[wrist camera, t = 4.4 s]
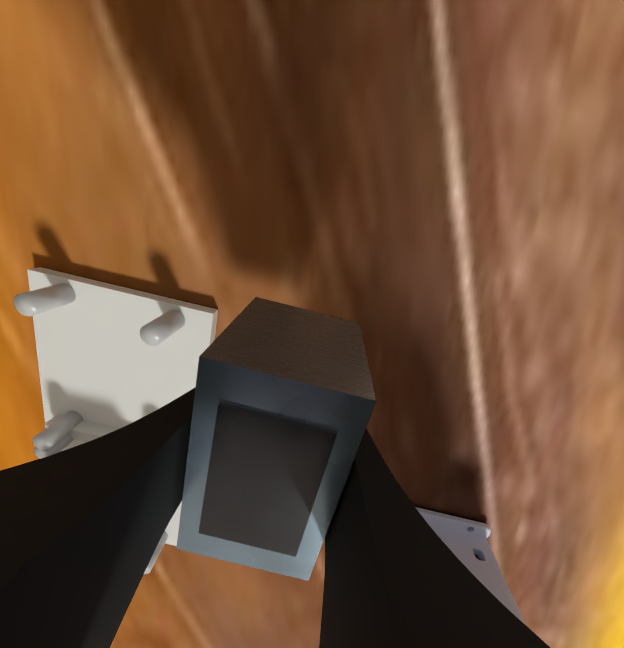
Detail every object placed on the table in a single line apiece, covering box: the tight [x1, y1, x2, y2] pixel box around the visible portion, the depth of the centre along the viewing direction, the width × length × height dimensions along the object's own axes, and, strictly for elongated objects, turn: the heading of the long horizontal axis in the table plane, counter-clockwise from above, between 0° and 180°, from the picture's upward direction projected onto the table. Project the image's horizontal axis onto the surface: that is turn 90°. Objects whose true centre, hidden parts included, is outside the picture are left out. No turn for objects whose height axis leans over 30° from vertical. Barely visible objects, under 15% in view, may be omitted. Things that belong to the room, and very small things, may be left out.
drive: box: [176, 297, 376, 581], centre depth 10 cm, size 4×6×5 cm, turn 166°
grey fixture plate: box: [14, 267, 218, 574], centre depth 19 cm, size 11×21×6 cm, turn 167°
